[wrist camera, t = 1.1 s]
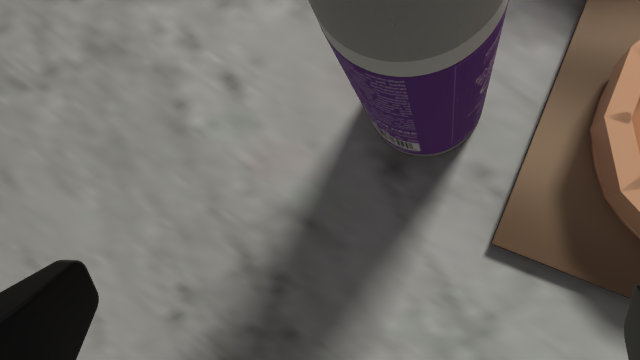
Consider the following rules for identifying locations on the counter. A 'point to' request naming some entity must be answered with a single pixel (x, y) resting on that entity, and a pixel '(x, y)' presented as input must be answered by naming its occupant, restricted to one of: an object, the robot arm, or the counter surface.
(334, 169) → the counter surface
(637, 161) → the terracotta dish
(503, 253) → the counter surface
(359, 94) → the container
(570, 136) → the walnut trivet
